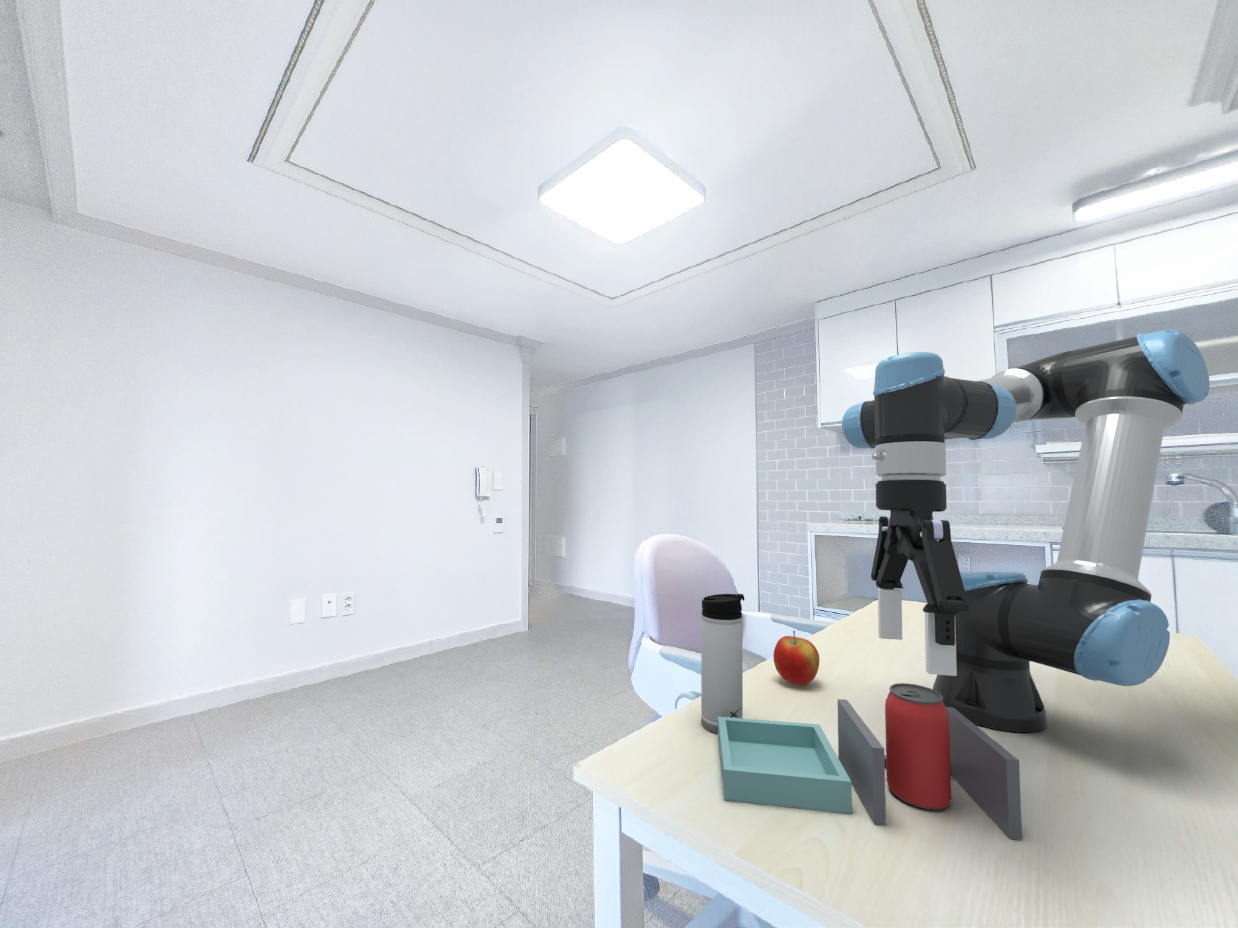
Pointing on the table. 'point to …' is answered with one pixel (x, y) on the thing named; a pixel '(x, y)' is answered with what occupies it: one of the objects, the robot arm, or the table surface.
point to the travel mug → (721, 659)
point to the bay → (973, 767)
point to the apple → (796, 660)
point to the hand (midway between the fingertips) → (912, 654)
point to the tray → (781, 765)
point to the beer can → (918, 746)
